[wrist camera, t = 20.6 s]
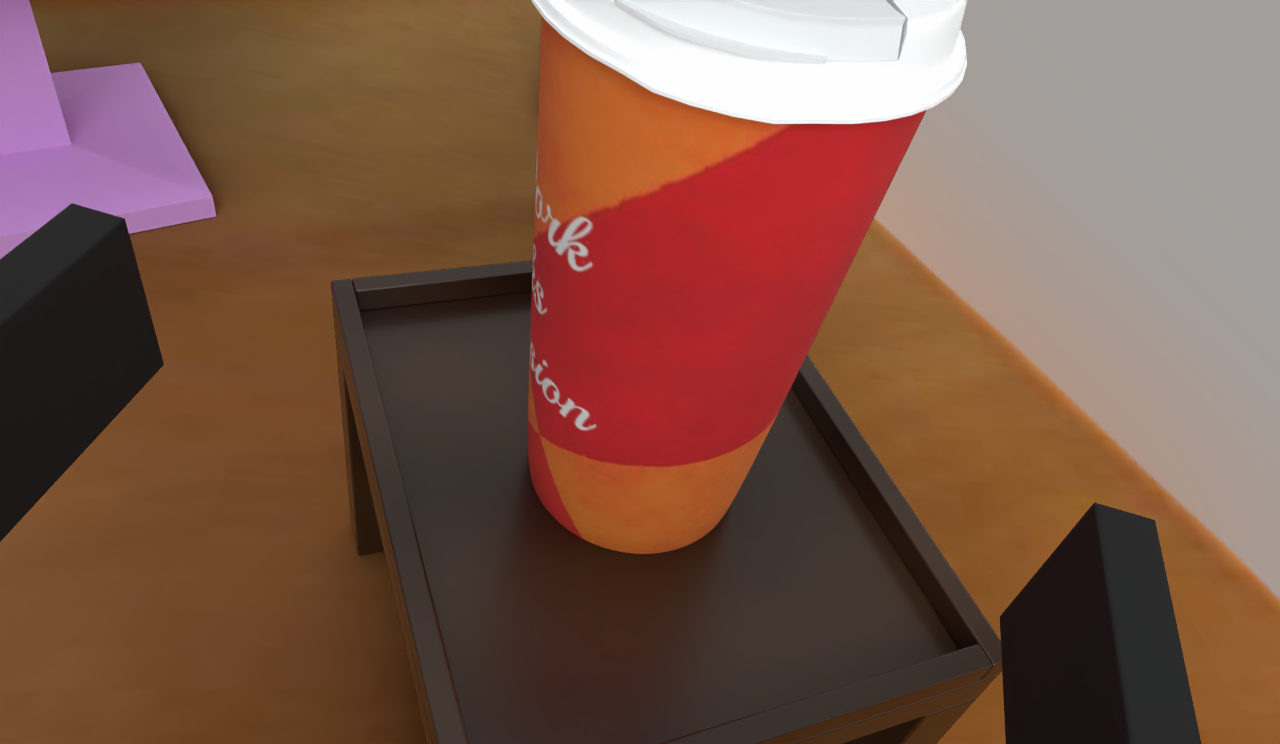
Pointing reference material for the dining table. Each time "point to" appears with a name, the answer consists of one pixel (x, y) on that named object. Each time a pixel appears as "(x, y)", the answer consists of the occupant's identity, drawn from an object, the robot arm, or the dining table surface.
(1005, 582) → the dining table surface
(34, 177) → the vase
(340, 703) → the dining table surface
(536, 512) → the rack
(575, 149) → the paper cup
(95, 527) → the dining table surface
